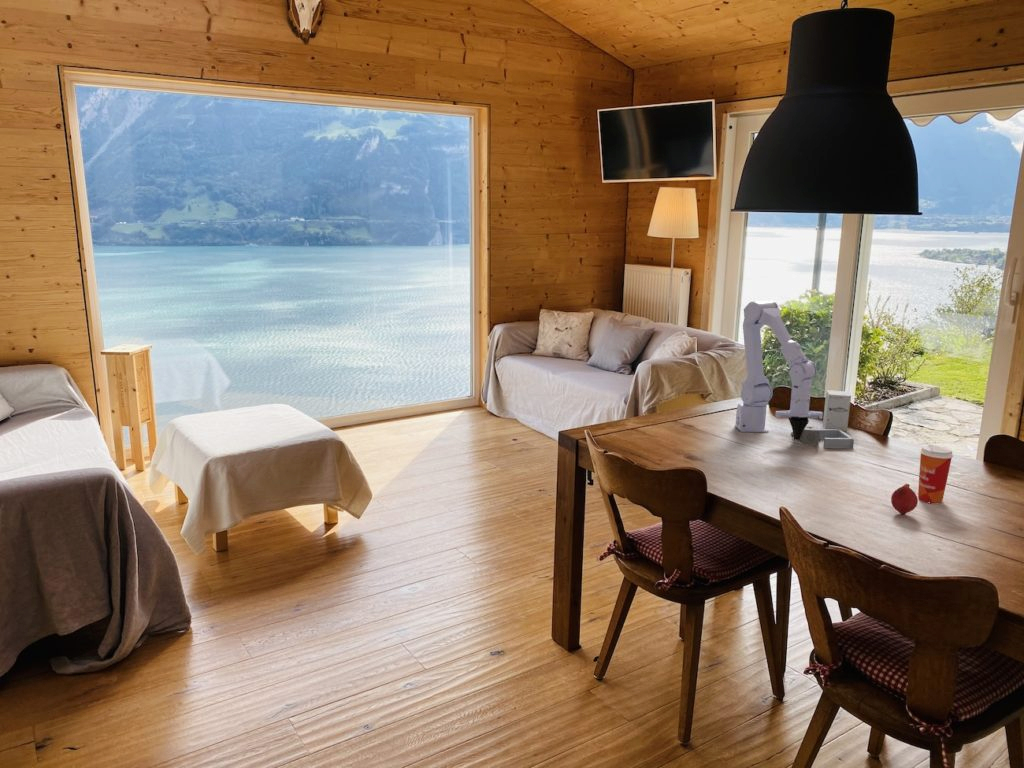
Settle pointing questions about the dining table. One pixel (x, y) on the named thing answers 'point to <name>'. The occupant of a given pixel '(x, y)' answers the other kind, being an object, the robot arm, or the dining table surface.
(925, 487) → the paper cup
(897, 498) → the onion
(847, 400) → the supplement box
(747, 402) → the robot arm
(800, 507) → the dining table surface
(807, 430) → the dice cube
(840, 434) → the notch block
